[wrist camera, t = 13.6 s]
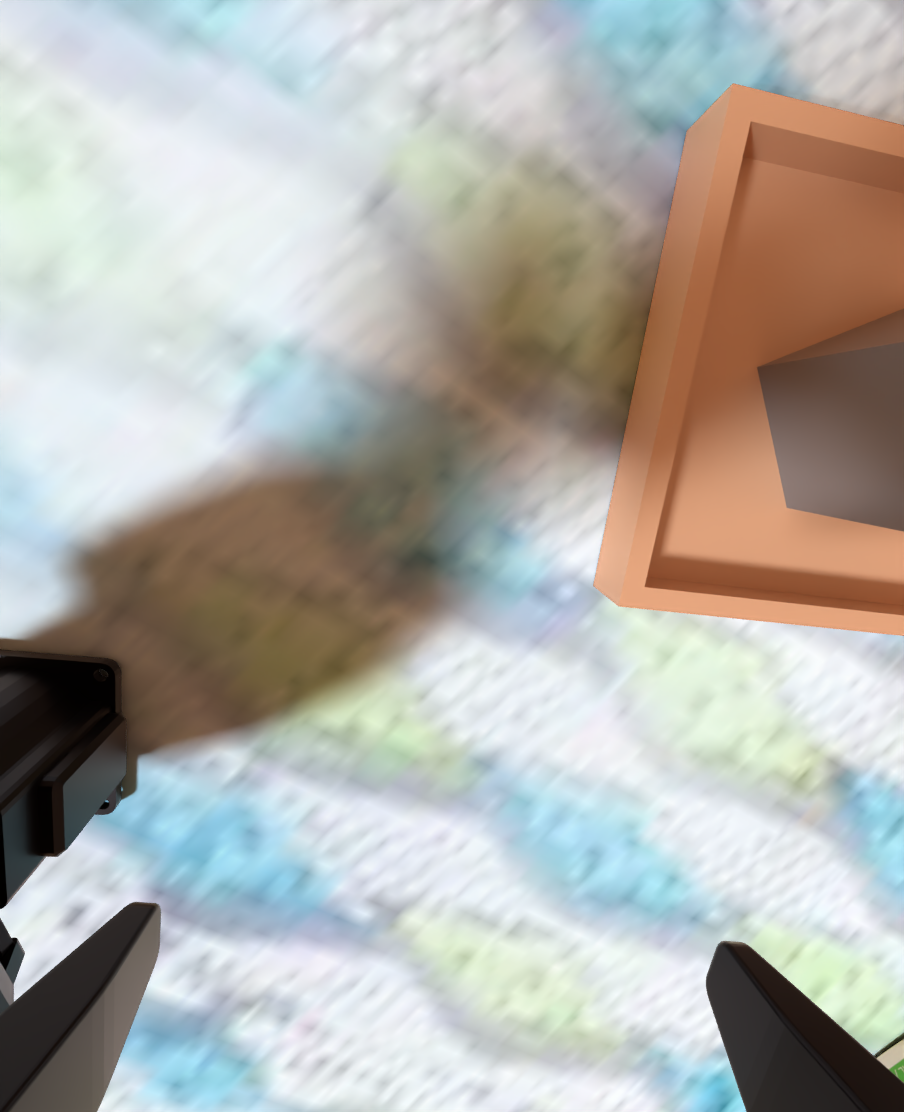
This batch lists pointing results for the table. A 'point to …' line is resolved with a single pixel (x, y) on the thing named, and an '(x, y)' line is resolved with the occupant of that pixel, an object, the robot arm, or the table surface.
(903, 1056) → the skincare box
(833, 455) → the beige rectangular block
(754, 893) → the table surface
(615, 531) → the tray
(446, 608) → the table surface
